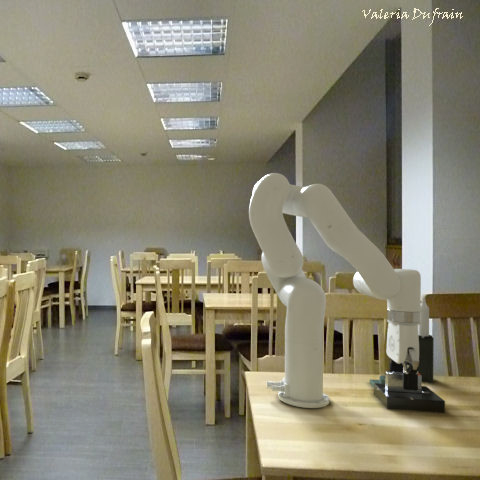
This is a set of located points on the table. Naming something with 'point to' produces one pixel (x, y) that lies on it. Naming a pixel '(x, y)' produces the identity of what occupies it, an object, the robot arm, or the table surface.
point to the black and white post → (425, 345)
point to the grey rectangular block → (399, 382)
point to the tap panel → (410, 400)
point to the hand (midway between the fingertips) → (403, 383)
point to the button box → (381, 380)
